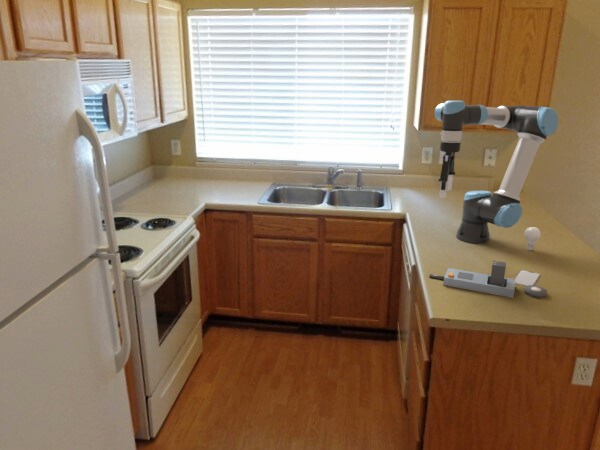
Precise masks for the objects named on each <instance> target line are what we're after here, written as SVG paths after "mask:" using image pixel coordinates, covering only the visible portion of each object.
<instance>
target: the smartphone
mask: <svg viewBox="0 0 600 450" xmlns="http://www.w3.org/2000/svg"><path fill="white" fill-rule="evenodd" d="M540 277H541V274H540V273H539V272H538V273H537V272H534V271H529V270H525V269H520V270H519V272H518V273H517V274H516V275H515V277H514V278H513V279H515V285H519V286H524V287H526V286H527V285H535V284H536V283H537V281H538V280H539V278H540Z"/></svg>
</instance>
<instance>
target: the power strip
mask: <svg viewBox="0 0 600 450" xmlns="http://www.w3.org/2000/svg"><path fill="white" fill-rule="evenodd" d="M429 278H433V279H437V278H438V280H443V284H442V285H443V286H447V285H448V287H453V288H458V289H464V290H470V291H475V292H480V293H485V294H491V295H497V296H502V297H508V298H512V299H513V298H514V296H515V288H516V284H515V279H514V278H510V277H505V276H504V282H503V287H501V286H495V285H490V279H491V274H488V273H487V274H486V273H480V272H475V271H469V270H468V271H467V270H463V269H462V270H461V269H457V268H452V267H451V268H450V267H447V270H446V272H445V275H444V276H442V275H439V274H438V275H436V274H432V273H429Z"/></svg>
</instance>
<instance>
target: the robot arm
mask: <svg viewBox="0 0 600 450" xmlns="http://www.w3.org/2000/svg"><path fill="white" fill-rule="evenodd" d="M434 117H435V119H436V120H437V121H439V122H442V123H441V124H442V126H441V127H442V128H441V131H440V132H439V135H441V137H440V140H441V142H440V146H439V151H441V152H444V153H445V154H444V155H443V156H442V165H441V171H440V176H439V178H438V182H439V184H440V185H439V194H438V198H440V199H442V198H443V199H447V195H448V194H447V192H448V191H449V192H451V191H452V189H453V179H454V175H455V174H456V172H455V159H456V153H459V152H460V150H461V142H460V141H462V135H463V126H473V125H475V126H477V125H487V126H494V127H496V128H498V129H504V130H509V131H512V132H517V136H518V141H517V144H516V146H515V148H514V151H513V154H512V156H511V158H510V160H509V163H508V166H507V169H506V171H505V173H504V176H503V178H502V181H501V183H500V186H499V189H498V190H496V191H494V192H493V194H492V192H491V191H489V190H469V191H467V192H466V193H465V194H464V199H463V206H462V215H461V222H460V223H459V226H458V228H457V229H456V233H455V237H456V239H458V240H460V241H463V242H465V243H471V244H484V243H488V242H489V241H490V238H491V235H490V230H489V225H488V224H492V225H494V226H496V227H500V228H503V229H505V228H506V229H508V228H511V227H513V226H515V225H516V224H517V223H518V222H519V220H520V219H521V217H522V215H523V207H522V205H521V198H520V194H521V191H522V189H523V188H524V187H523V186H524V184H525V181H526V179H527V177H528V174H529V172H530V169H531V167H532V164H533V162H534V159H535V157H536V154H537V152H538V149H539V147H540V145H541V144H542V143H544V142H546V140H547V138H548V137H550V136H552V135H554V134H555V133H556V131H557V129H558V126H559V117H558V113H557V110H555V109H554V108H552V107H546V106H538V105H537V106H536V105H509V106H508V105H500V106H497V107H491V106H484V105H483V104H466V102H465V101H464V100H446V101H444V102H442V103H439V104H438V105H437V106H436V107H435V109H434ZM455 176H456V175H455Z"/></svg>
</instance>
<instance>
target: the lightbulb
mask: <svg viewBox="0 0 600 450" xmlns="http://www.w3.org/2000/svg"><path fill="white" fill-rule="evenodd" d="M541 235H542V234H541V231H540V229H539V228H538V227H536V226H530V227H527V228H526V229H525V231H524V237H525V239H526V243H527V245H526V250H527V251H534V247H535V245H536V242H537V241H538V240H540V238H541Z"/></svg>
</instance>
